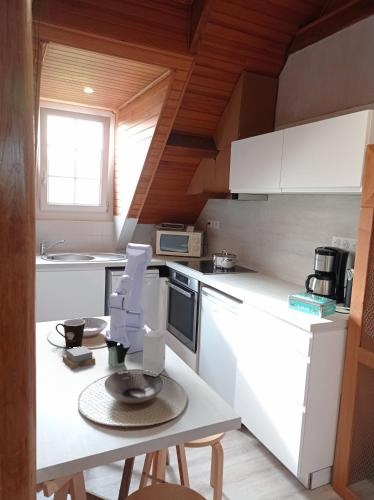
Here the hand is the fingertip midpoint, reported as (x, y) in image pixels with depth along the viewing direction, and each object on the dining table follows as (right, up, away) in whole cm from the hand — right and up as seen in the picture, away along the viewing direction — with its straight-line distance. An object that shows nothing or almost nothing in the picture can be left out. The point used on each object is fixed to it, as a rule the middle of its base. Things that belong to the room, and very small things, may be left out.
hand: (116, 359), depth 139 cm
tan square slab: (-14, -2, 0) cm, 14 cm away
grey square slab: (-14, +1, 0) cm, 14 cm away
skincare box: (+14, -3, -5) cm, 15 cm away
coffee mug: (-22, +2, +15) cm, 27 cm away
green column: (0, -2, 0) cm, 2 cm away
